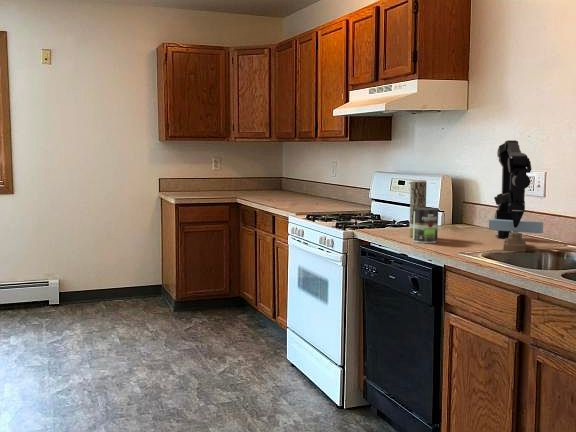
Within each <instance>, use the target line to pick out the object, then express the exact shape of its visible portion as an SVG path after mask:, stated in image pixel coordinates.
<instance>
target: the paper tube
mask: <svg viewBox="0 0 576 432" xmlns="http://www.w3.org/2000/svg"><path fill="white" fill-rule="evenodd" d="M409 190H410V195H409V198H410V199H409V237H410V238H413V223H414V208H417V207H427V180H425V179H424V180H423V179H411V180H410V187H409Z"/></svg>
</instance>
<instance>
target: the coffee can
mask: <svg viewBox="0 0 576 432" xmlns="http://www.w3.org/2000/svg"><path fill="white" fill-rule="evenodd" d="M439 212H440V211H439V208H438V207H427V206H426V207H417V208H414V223H413V237H412V242H414V243H418V244H436V242H437V243H438V233H439V230H438V229H439Z"/></svg>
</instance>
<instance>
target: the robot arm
mask: <svg viewBox="0 0 576 432" xmlns="http://www.w3.org/2000/svg"><path fill="white" fill-rule="evenodd" d="M496 152H497V158H498V162H499V164H500V166H501V167H502V169H501V172H502V173H501V193H498V194H497V195H496V196H494V197H493V199H494V202H495V204H496V206H497V207H496V208H497V209H496V210H495V213H494V218H493V219H499V220H513V224H514V228H517V226H518V224H519V222H520V221H522V218H523V215H524V213H525V210H526V205H525V204H526V201H525V196H526V195H525V193H526V189H527V188H529V186H530V184H531V178H530V176H529V175H527V174H528V173H529V174H530V173H531V172H532V164H531V160H530V158H529V157H528V155H527V154H526V153H523V152H522V151H521V148H520V145H519V141H518V140H512V139H511V140H505V141H504V143H501V145H499V146H498V148H497V151H496ZM509 233H513V231H500V230H497V234H495V237H496V238H498V239H505V238H508V236H509Z"/></svg>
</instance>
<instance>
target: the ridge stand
mask: <svg viewBox="0 0 576 432" xmlns="http://www.w3.org/2000/svg"><path fill="white" fill-rule="evenodd" d="M503 241H504V242H503V251H508V250H509V251H511V252H526V249H527V245H526V244H527V242H526V239H524V238H523V232H513V231H512V233H509V236H508V238H504V240H503Z"/></svg>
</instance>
